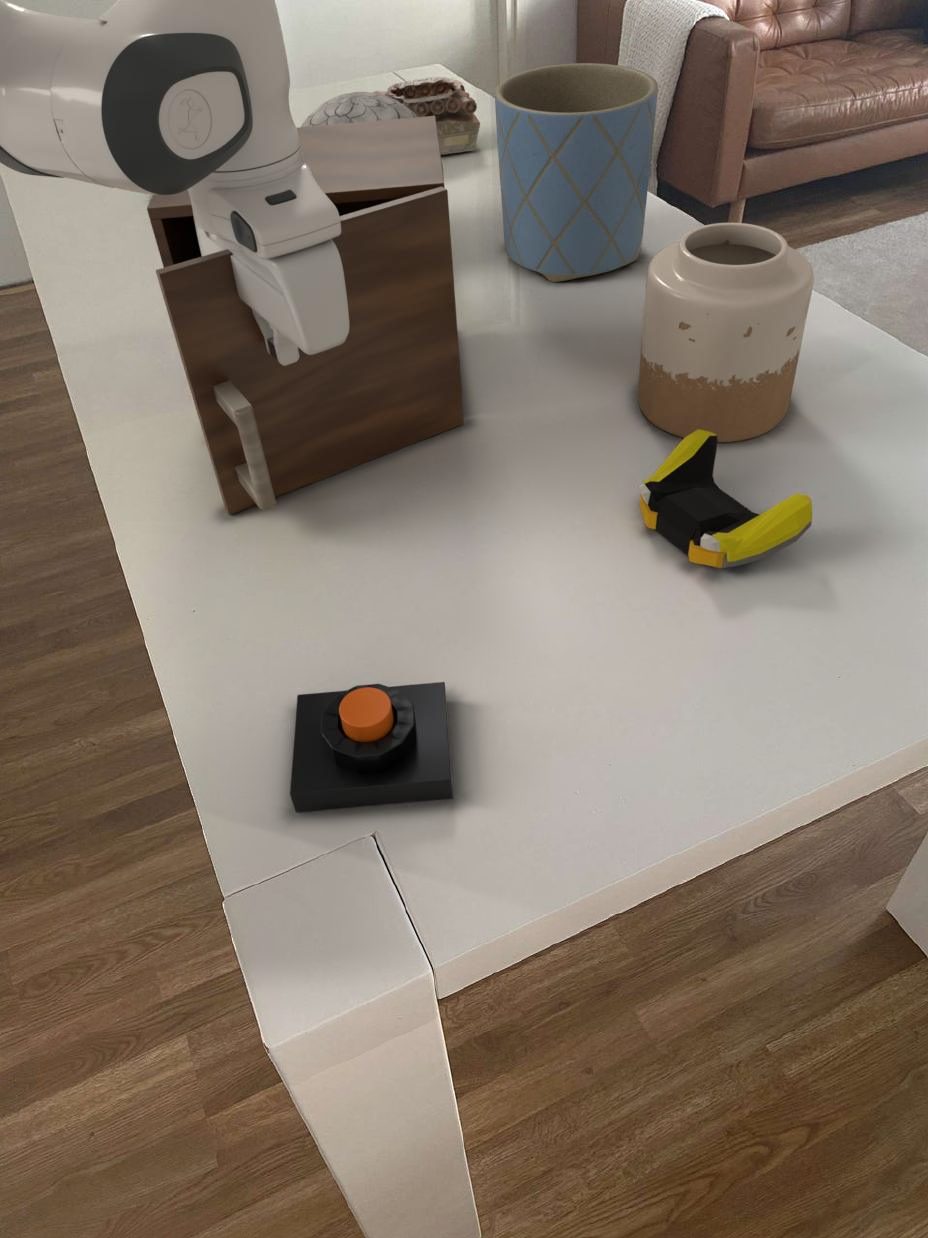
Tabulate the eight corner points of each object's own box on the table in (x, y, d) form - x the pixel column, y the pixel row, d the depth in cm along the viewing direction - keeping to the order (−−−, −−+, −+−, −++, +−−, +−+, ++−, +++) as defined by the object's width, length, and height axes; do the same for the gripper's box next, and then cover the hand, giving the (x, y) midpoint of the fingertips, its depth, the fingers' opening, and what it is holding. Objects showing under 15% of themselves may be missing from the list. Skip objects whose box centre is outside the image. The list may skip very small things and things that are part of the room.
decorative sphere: (354, 218, 140) (332, 64, 126) (475, 238, 133) (466, 77, 119) (272, 276, 128) (239, 113, 114) (400, 302, 121) (381, 131, 107)
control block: (295, 812, 67) (284, 778, 65) (302, 713, 74) (292, 678, 71) (453, 798, 68) (449, 763, 65) (446, 700, 74) (442, 665, 71)
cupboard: (461, 418, 101) (444, 182, 85) (212, 440, 101) (146, 208, 85) (451, 334, 114) (435, 115, 98) (231, 353, 114) (177, 137, 97)
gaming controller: (697, 467, 93) (613, 505, 90) (704, 418, 89) (616, 456, 86) (815, 551, 83) (726, 597, 80) (828, 500, 80) (735, 546, 76)
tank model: (487, 164, 152) (484, 96, 146) (360, 179, 151) (351, 112, 144) (474, 136, 162) (471, 71, 155) (354, 150, 161) (346, 85, 154)
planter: (675, 262, 124) (691, 91, 110) (543, 299, 119) (543, 125, 105) (597, 212, 137) (603, 53, 123) (475, 243, 132) (467, 81, 118)
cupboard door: (494, 449, 97) (483, 210, 80) (252, 547, 88) (184, 301, 72) (459, 419, 101) (441, 185, 85) (225, 509, 92) (155, 269, 76)
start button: (342, 745, 67) (338, 729, 66) (343, 705, 69) (339, 689, 68) (394, 740, 67) (391, 724, 66) (393, 701, 69) (390, 684, 68)
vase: (796, 374, 104) (828, 216, 92) (778, 454, 94) (811, 289, 82) (654, 356, 108) (667, 204, 96) (621, 431, 98) (632, 271, 86)
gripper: (158, 165, 78) (201, 324, 88) (270, 244, 65) (305, 421, 75) (230, 145, 80) (264, 303, 90) (351, 219, 68) (376, 393, 77)
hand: (284, 357), depth 82 cm, fingers closed
